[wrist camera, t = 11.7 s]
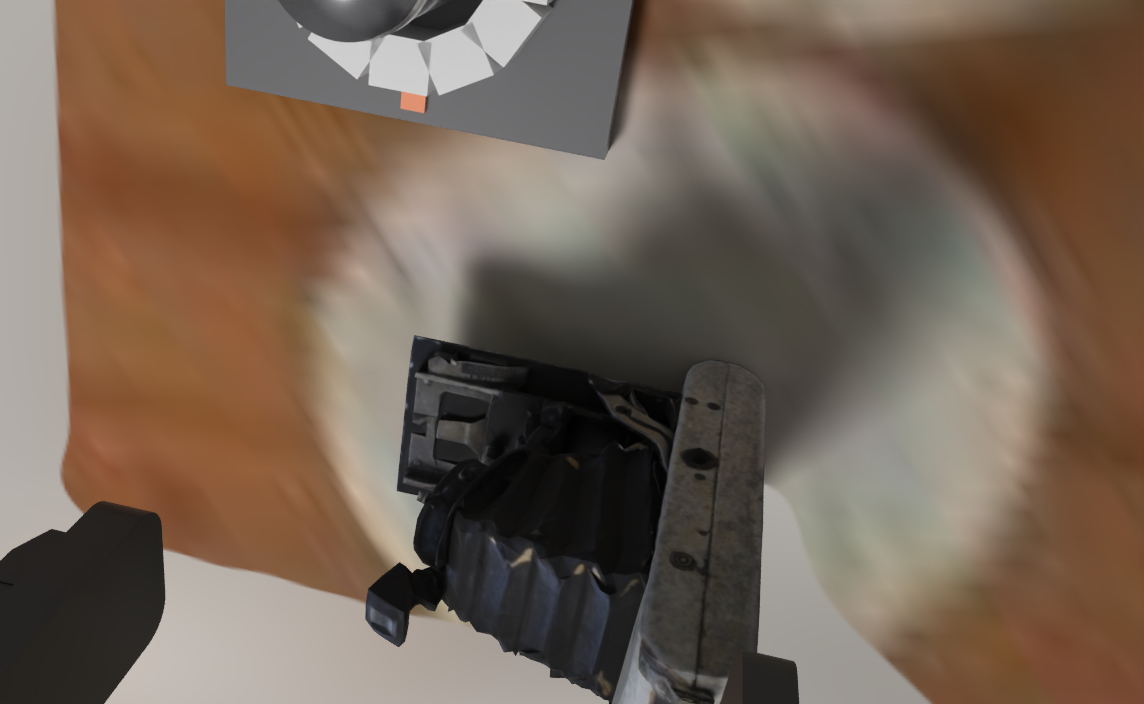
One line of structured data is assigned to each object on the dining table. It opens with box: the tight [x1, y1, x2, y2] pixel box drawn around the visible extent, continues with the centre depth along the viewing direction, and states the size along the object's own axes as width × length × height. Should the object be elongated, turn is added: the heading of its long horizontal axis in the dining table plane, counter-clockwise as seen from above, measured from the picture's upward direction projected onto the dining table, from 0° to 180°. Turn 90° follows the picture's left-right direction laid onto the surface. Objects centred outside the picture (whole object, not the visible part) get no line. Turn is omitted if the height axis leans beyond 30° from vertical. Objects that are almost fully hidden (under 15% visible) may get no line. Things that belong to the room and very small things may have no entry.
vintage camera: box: [366, 335, 766, 704], centre depth 38 cm, size 10×16×20 cm, turn 80°
